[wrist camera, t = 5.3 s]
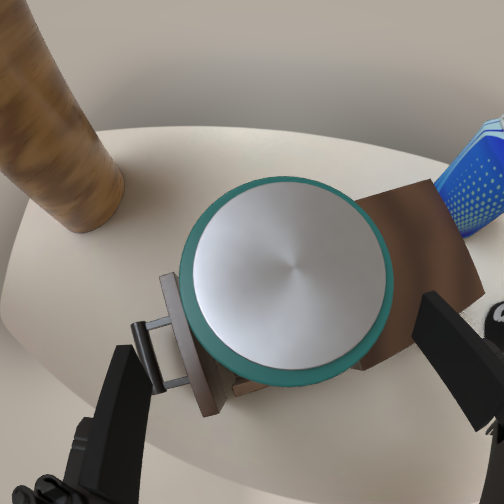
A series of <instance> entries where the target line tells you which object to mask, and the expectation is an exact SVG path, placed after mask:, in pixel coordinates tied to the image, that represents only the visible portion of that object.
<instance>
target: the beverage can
mask: <svg viewBox="0 0 504 504" xmlns="http://www.w3.org/2000/svg"><path fill="white" fill-rule="evenodd" d="M485 337H486V338H487V339H488V340H490V341H492V342H493V343H494V344H495V345H496V346H497V347H498V348H499V349H500V352H502V353H504V301H503V302H500V303H497V304H495V305H494V306H493V307H492V308H491V310H490V311H489V314H488V316H487V318H486V322H485Z"/></svg>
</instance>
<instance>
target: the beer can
mask: <svg viewBox="0 0 504 504" xmlns="http://www.w3.org/2000/svg"><path fill="white" fill-rule="evenodd" d="M434 185H435V187H436V189H437V191H438V192H439V194H440V196H441V198H442V199H443V201H444V203H445V205H446V207H447V208H448V210H449V212H450V214H451V216H452V218H453V220H454V222H455V224H456V226H457V228H458V230H459V232H460V234H461V236H462V238H467V237H470V236H471V235H473V234H474V233H476V232H477V231H479V230H480V229H482V228H483V227H484V226H486V225H487V224H489V223H490V222H491V221H493V220H494V219H496V218H497V217H498V216H500V215H501V214H502V213H504V115H502V116H501V117H500V118H499V119H493V120H488V121H486V122H485V123H484V124H483V126H482V127H481V128H480V129H479V131H478V132H477V133H476V134H475V136H474V137H473V138H472V140H471V141H470V142H469V143H468V144H467V146H466V147H465V148H464V149H463V150H462V152H461V153H460V154H459V155H458V156H457V158H456V159H455V160H454V161H453V162H452V164H451V165H450V166H449V167H448V168H447V169H446V170H445V172H444V173H443V174H442V175H441V176H440V177H439V178H438V179H437V181H436V182H435V183H434Z"/></svg>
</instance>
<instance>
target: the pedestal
mask: <svg viewBox="0 0 504 504" xmlns="http://www.w3.org/2000/svg"><path fill="white" fill-rule="evenodd" d="M0 171H1V172H2V173H3V174H4V175H5V176H6V177H7V178H8V179H9V180H10V181H11V182H13V183H14V184H15V185H16V186H17V187H18V188H19V189H20V190H21V191H23V192H24V193H25V194H26V195H27V196H28V197H29V198H31V199H32V200H33V201H34V202H35V203H36V204H38V205H39V206H40V207H41V208H42V209H44V210H45V211H46V212H47V213H48V214H50V215H51V216H52V217H53V218H55V219H56V220H57V221H58V222H60V223H61V224H62V225H63V226H65V227H66V228H67V229H68V230H70V231H72V232H76V233H84V232H89V231H92V230H94V229H96V228H98V227H99V226H101V225H102V224H103V223H105V222H106V221H107V220H108V219H109V218H110V217H111V216H112V215H113V213H114V212H115V210H116V209H117V207H118V206H119V204H120V201H121V199H122V196H123V192H124V179H123V176H122V174H121V172H120V170H119V169H118V167H117V166H116V164H115V163H114V161H113V160H112V158H111V157H110V155H109V153H108V152H107V150H106V149H105V147H104V146H103V144H102V142H101V141H100V139H99V138H98V136H97V134H96V133H95V131H94V129H93V128H92V126H91V125H90V123H89V121H88V120H87V118H86V116H85V114H84V113H83V111H82V109H81V108H80V106H79V104H78V102H77V101H76V99H75V97H74V95H73V94H72V92H71V90H70V88H69V87H68V85H67V83H66V81H65V79H64V78H63V76H62V74H61V72H60V70H59V68H58V66H57V65H56V63H55V61H54V59H53V57H52V55H51V53H50V51H49V49H48V47H47V45H46V43H45V41H44V39H43V37H42V35H41V33H40V31H39V29H38V26H37V24H36V22H35V20H34V18H33V16H32V14H31V11H30V9H29V7H28V4H27V2H26V0H0Z"/></svg>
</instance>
